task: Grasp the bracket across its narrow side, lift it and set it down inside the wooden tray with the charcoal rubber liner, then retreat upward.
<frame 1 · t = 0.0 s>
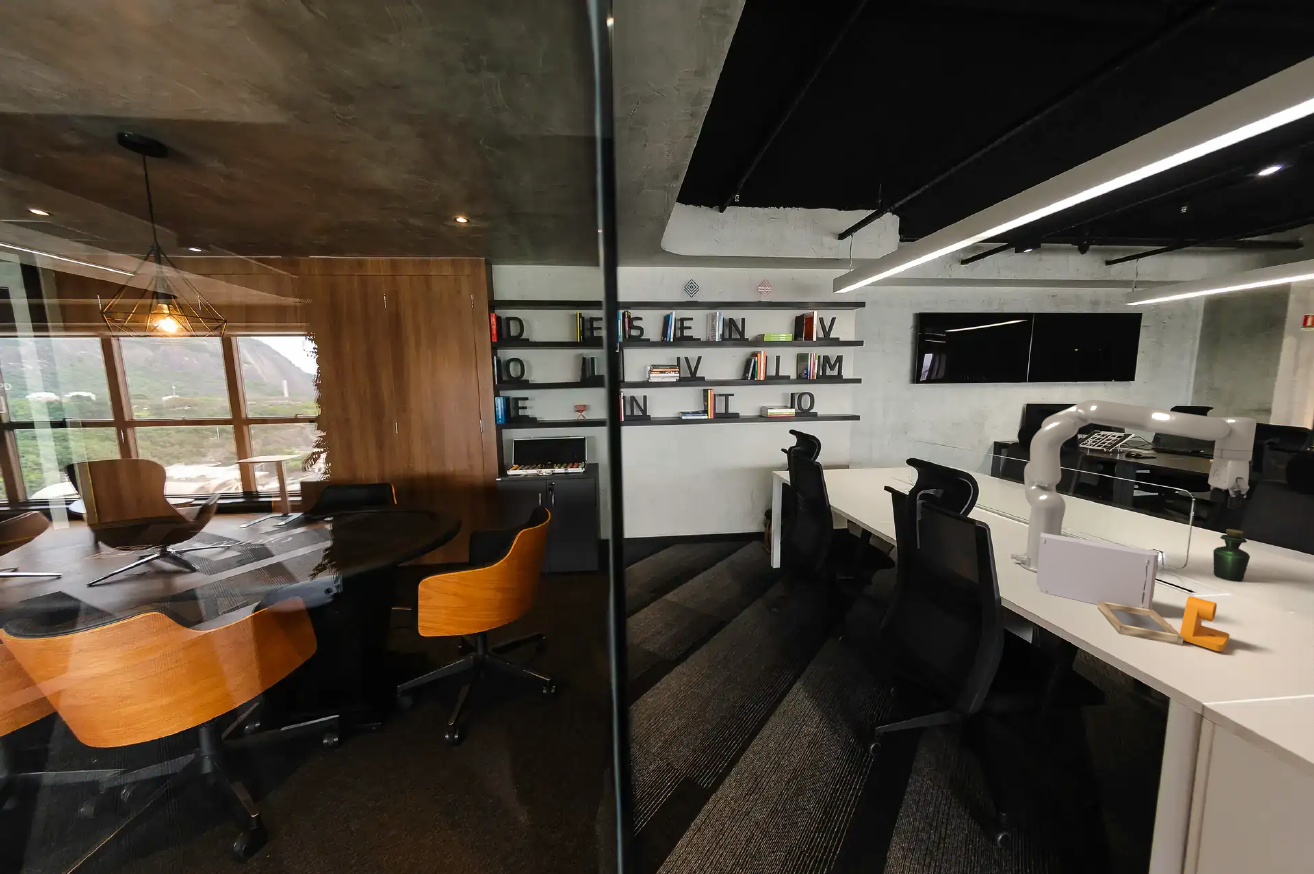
hand: (1225, 505, 144), 31 cm above the table, fingers open, 9 cm apart
wooden tray: (1136, 625, 130), on the table
bracket: (1203, 642, 121), on the table
potion bottle: (1227, 578, 160), on the table
game console: (1089, 601, 145), on the table
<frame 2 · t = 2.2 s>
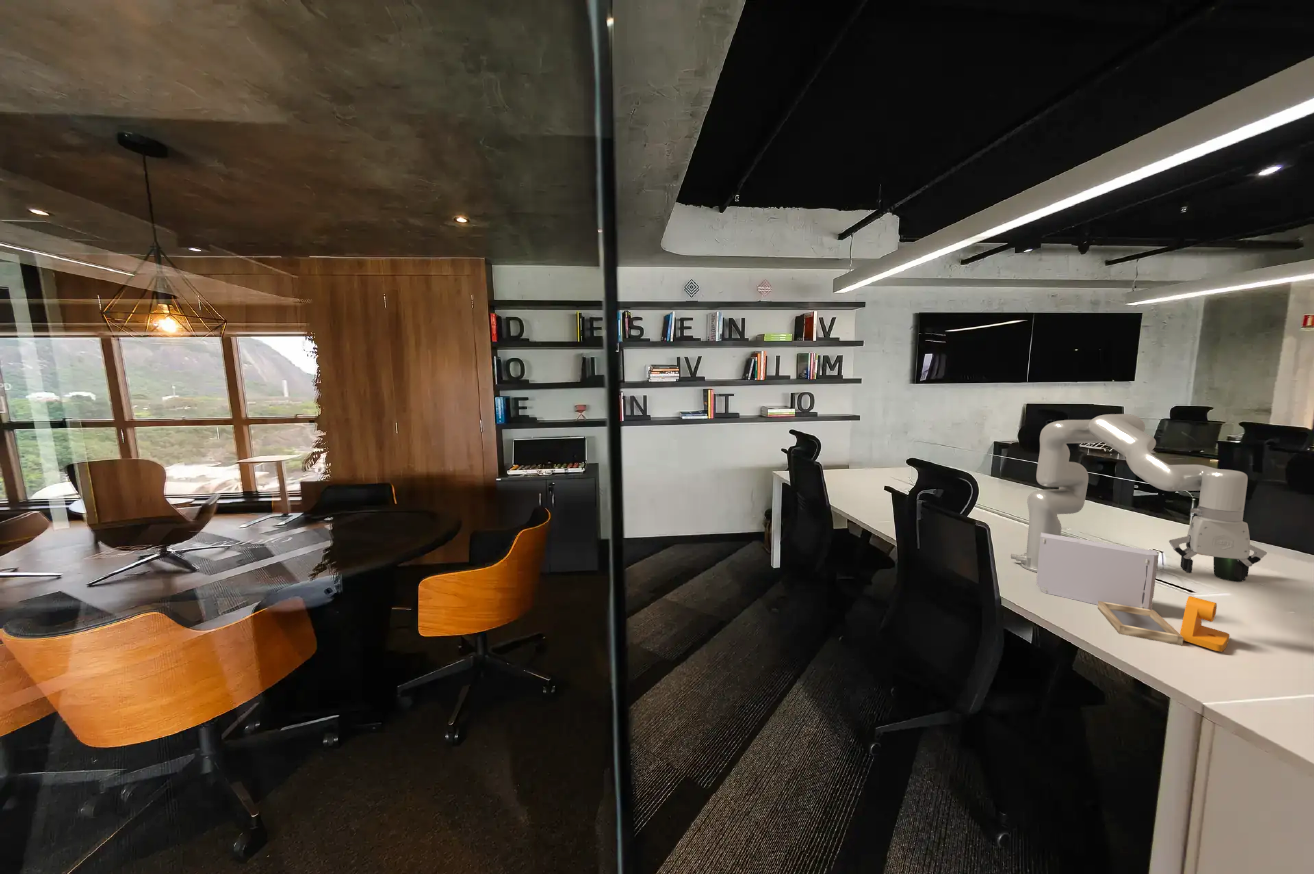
hand: (1212, 574, 120), 19 cm above the table, fingers open, 9 cm apart
nothing on the table moved.
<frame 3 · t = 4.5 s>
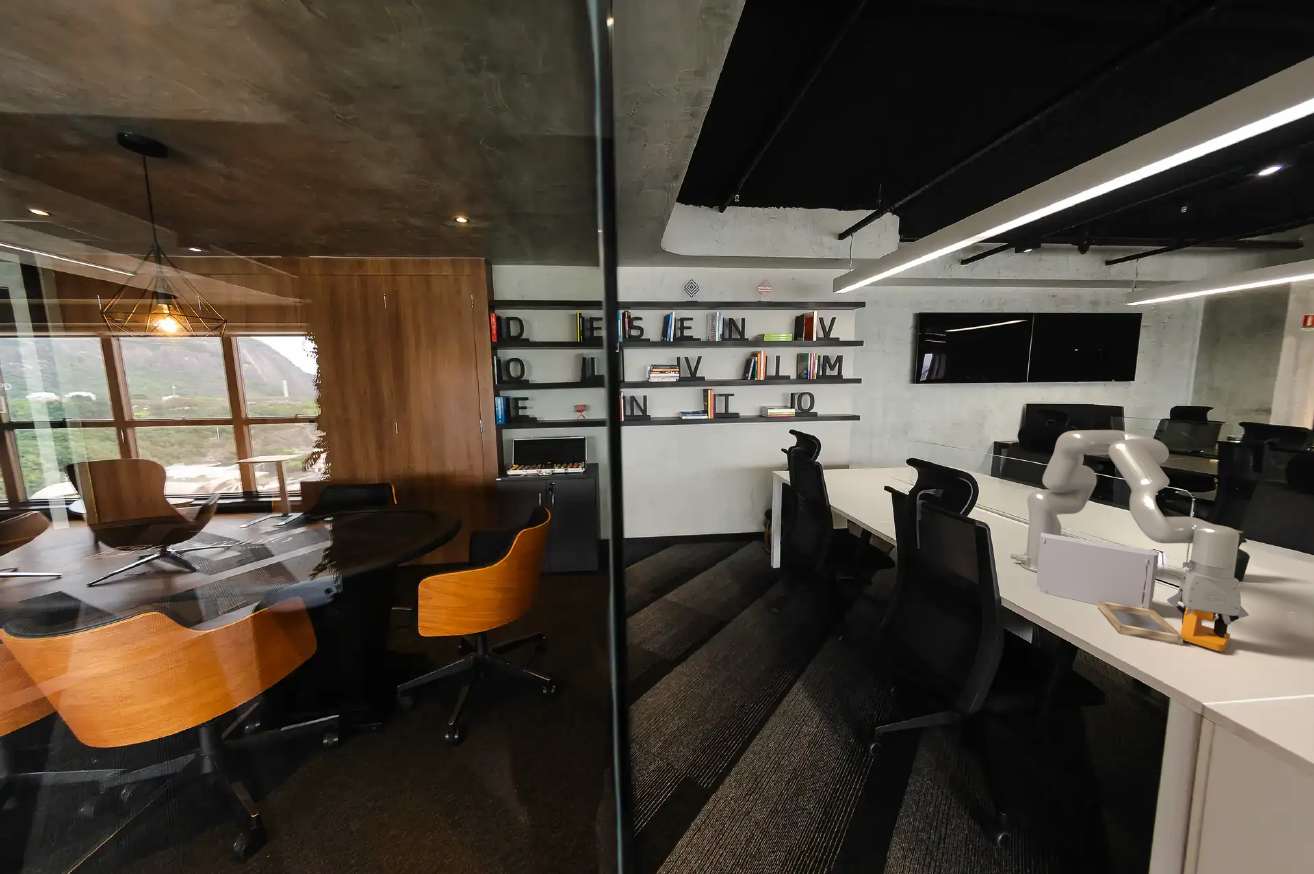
hand: (1203, 631, 121), 3 cm above the table, fingers closed on bracket, 5 cm apart
bracket: (1204, 642, 121), on the table, touching gripper
everything else where it was.
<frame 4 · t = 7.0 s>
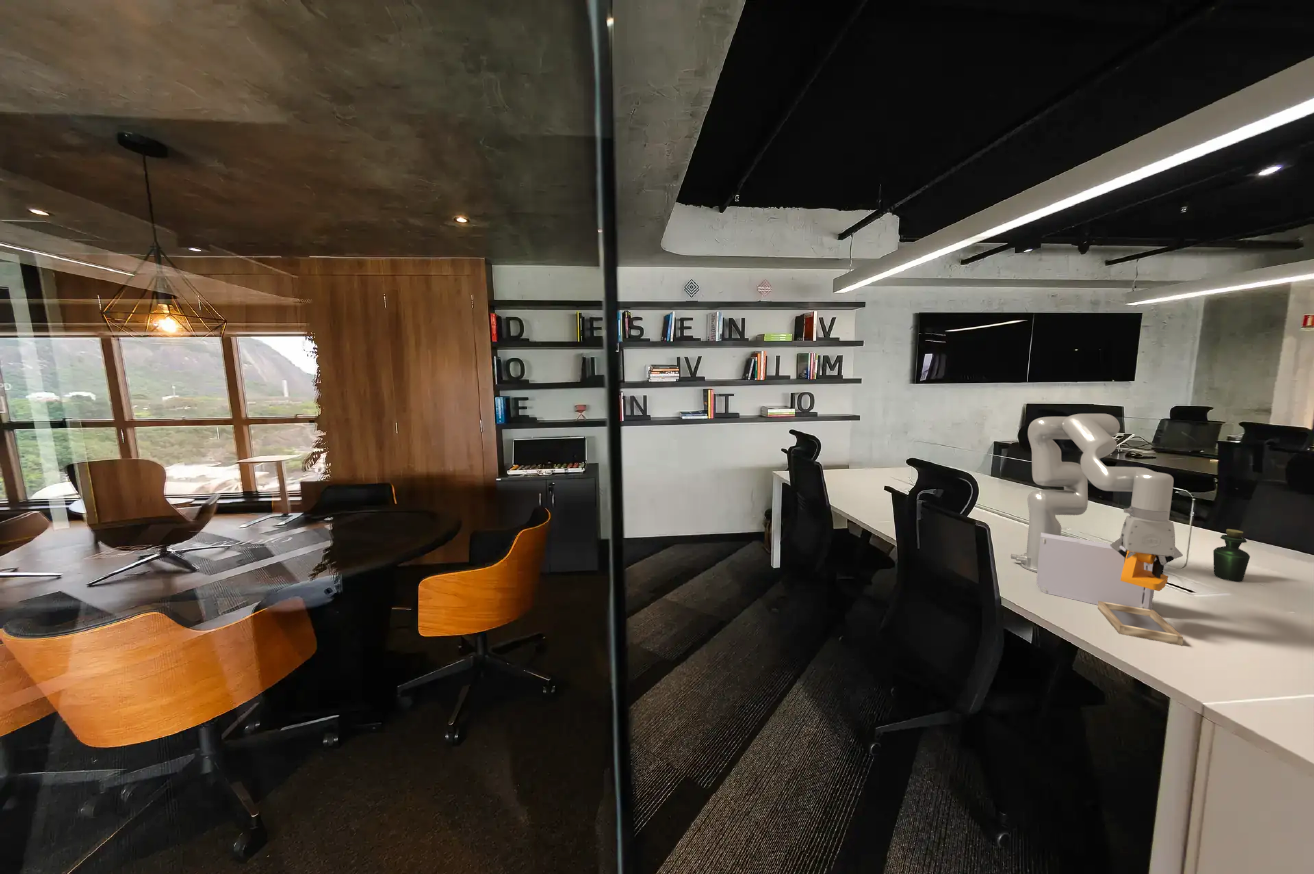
hand: (1142, 573, 128), 16 cm above the table, fingers closed on bracket, 4 cm apart
bracket: (1143, 584, 128), point 13 cm above the table, touching gripper
everything else where it was.
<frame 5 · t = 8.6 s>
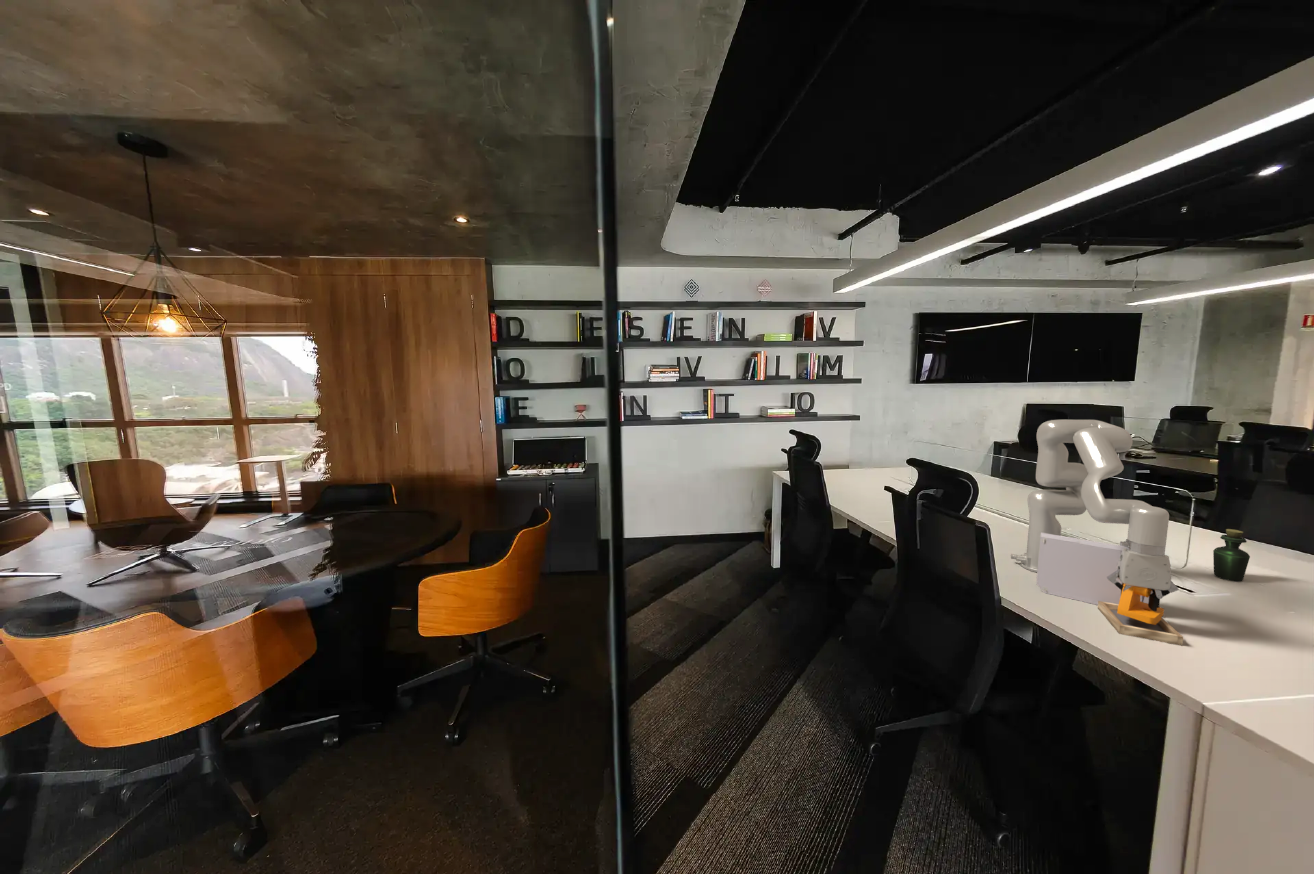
hand: (1138, 606, 129), 6 cm above the table, fingers closed on bracket, 4 cm apart
bracket: (1140, 617, 129), point 3 cm above the table, touching gripper
everything else where it was.
when the fingers open (6 cm above the table, at t = 9.4 s): bracket stays where it is, resting on wooden tray.
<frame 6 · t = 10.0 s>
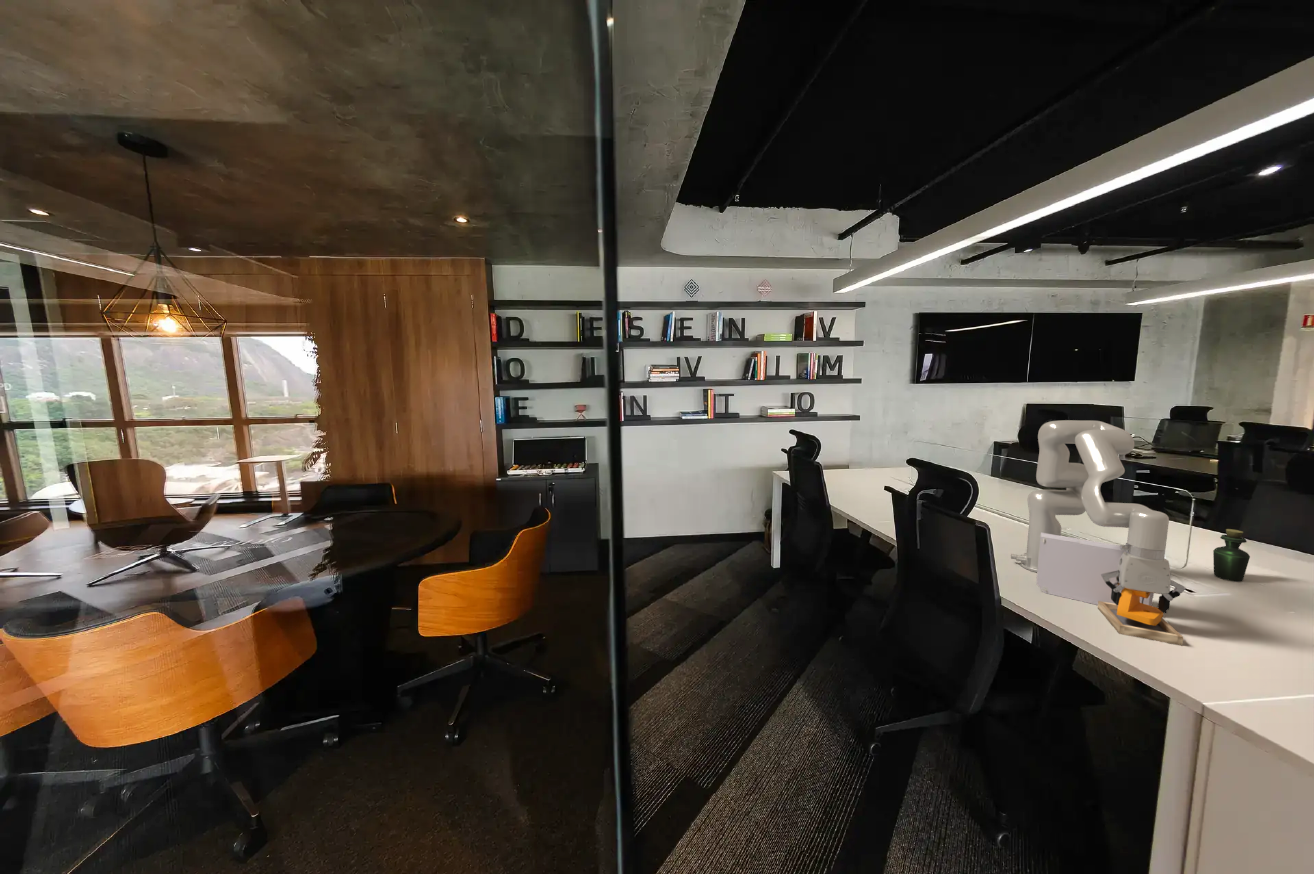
hand: (1138, 607, 129), 6 cm above the table, fingers open, 9 cm apart
bracket: (1139, 618, 129), point 2 cm above the table, touching wooden tray
everything else where it was.
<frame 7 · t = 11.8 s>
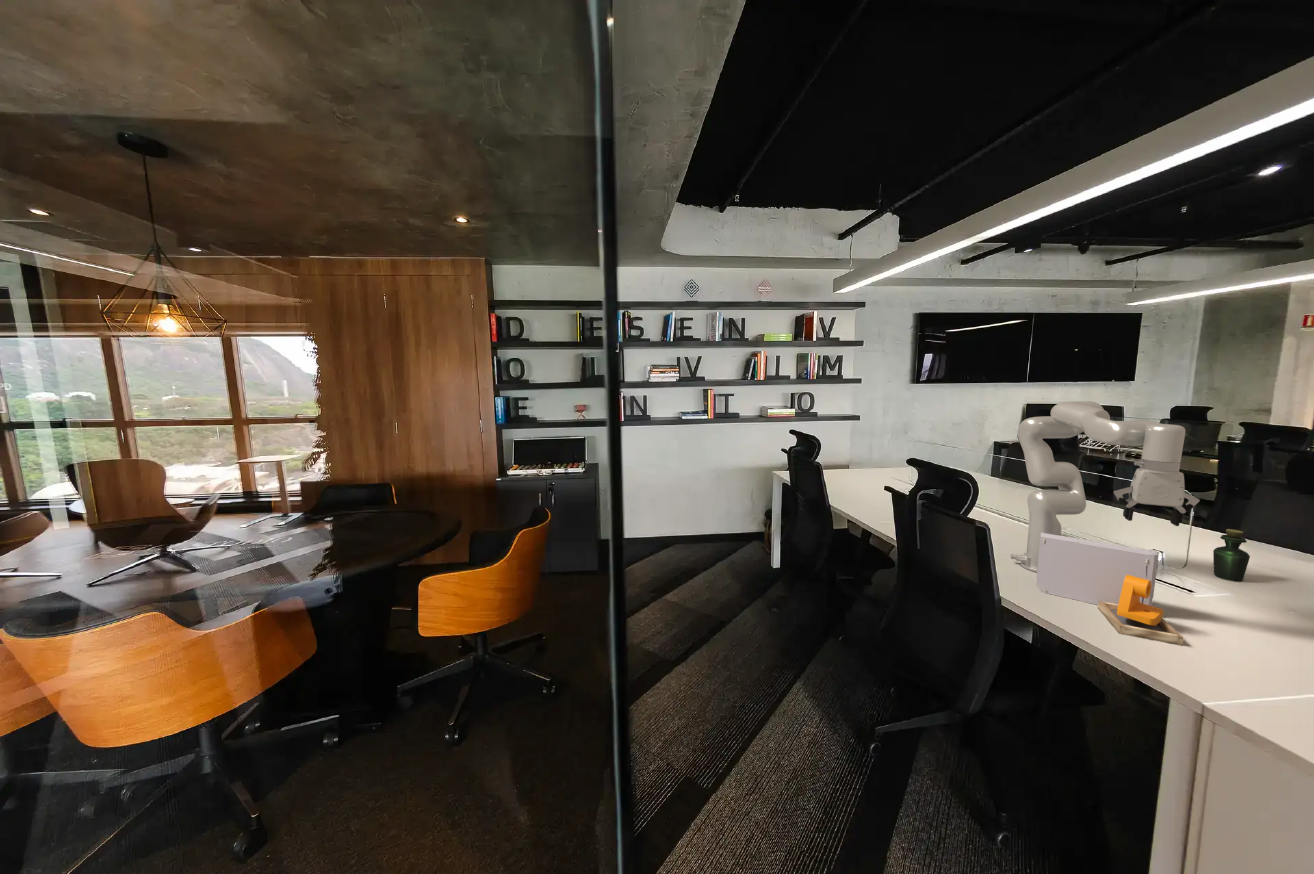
hand: (1150, 522, 130), 31 cm above the table, fingers open, 9 cm apart
nothing on the table moved.
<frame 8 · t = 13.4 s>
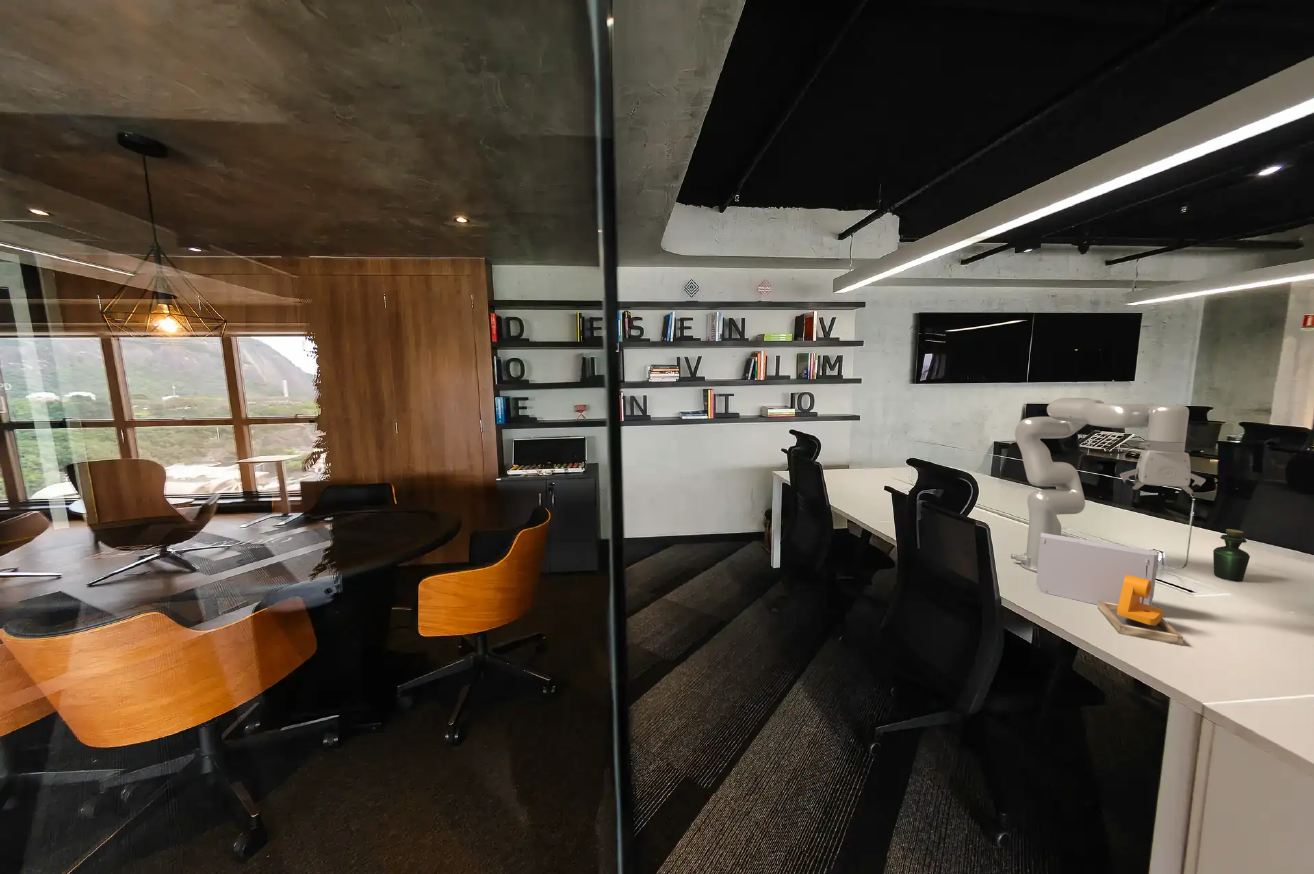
hand: (1158, 503, 130), 36 cm above the table, fingers open, 9 cm apart
nothing on the table moved.
at the end: bracket inside the target area on the wooden tray (0.6 cm from its centre), point 2.3 cm above the wooden tray's base; the gripper is holding nothing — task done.
